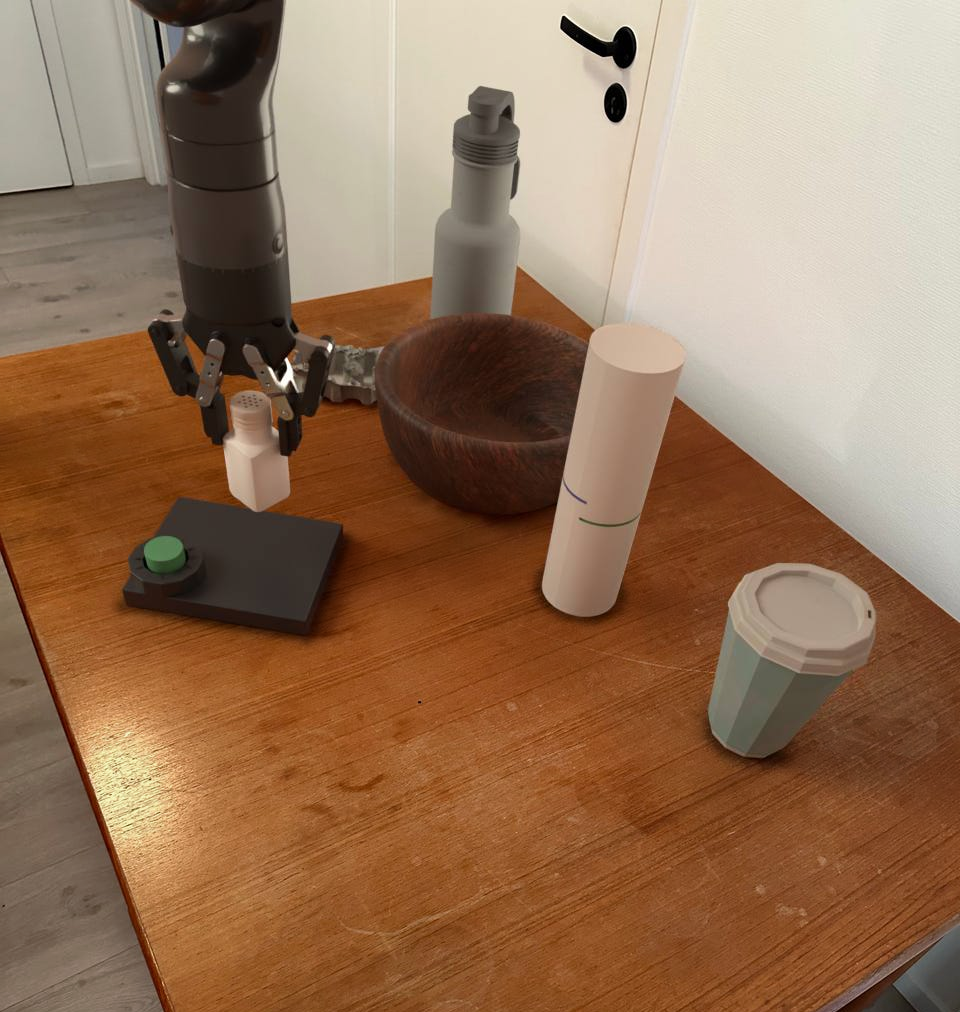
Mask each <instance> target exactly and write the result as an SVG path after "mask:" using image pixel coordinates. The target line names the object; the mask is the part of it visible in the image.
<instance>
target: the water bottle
mask: <svg viewBox="0 0 960 1012" xmlns="http://www.w3.org/2000/svg"><path fill="white" fill-rule="evenodd" d="M467 99H468V100H467V111H468V112H470V113H469V114H466V115H463V116H461V117H459V118H458V119H456V120H455V121H454V123H453V131H452V132H453V133H452V146H451V147H452V150H451V156H452V157H453V166H452V168H453V169H452V185H451V198H450V199H451V200H450V207H449V208H447V209H446V210H444V211H443V212H441V214H440V215H439V217H438V218H437V220H436V223H435V226H434V227H435V228H434V245H433V259H432V260H433V262H432V278H431V279H432V280H431V298H430V299H431V300H430V319H429V320H431V319H434V318H438V317H443V316H449V315H455V314H466V313H494V314H505V315H512V309H513V300H514V293H515V292H514V291H515V285H516V284H515V283H516V277H517V268H518V259H519V253H520V252H519V251H520V244H521V229H520V226H519V224H518V222H517V221H516V219H515V218H514V217H513V216H512V215H511V214H510V207H511V206H510V204H511V200H513V199H514V198H515V197H516V195H517V194H518V193H517V192H518V187H519V179H520V171H521V170H520V169H521V160H520V159H521V158H520V157H519V156H518V148H519V140H520V138H521V130H520V128H519V126H518V125H517V124H515V123H514V122H515V113H516V112H515V111H516V107H515V106H516V103H515V95H514V93H513V91H509V90H505V89H498V88H493V87H489V86H483V85H479V86H478V87H476V89H475V90H473V92H472V93H470V94H469V95H468V98H467Z"/></svg>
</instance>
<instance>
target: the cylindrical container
mask: <svg viewBox="0 0 960 1012" xmlns="http://www.w3.org/2000/svg"><path fill="white" fill-rule="evenodd" d="M588 343H589V346H588V351H587V357H586V362H585V367H584V372H583V377H582V382H581V387H580V392H579V397H578V402H577V407H576V413H575V418H574V423H573V428H572V433H571V438H570V443H569V448H568V453H567V458H566V463H565V468H564V474H563V478H562V484H561V489H560V494H559V499H558V502H557V505H556V510H555V515H554V520H553V524H552V530H551V534H550V539H549V544H548V550H547V555H546V560H545V565H544V571H543V576H542V581H541V589H542V593H543V595H544V597H545V599H546V600H547V602H548V603H550V604H551V605H552V606H553V607H554V608H556V609H557V610H559V611H561V612H563V613H565V614H567V615H571V616H575V617H580V618H581V617H583V618H584V617H585V618H586V617H587V618H588V617H589V618H590V617H595V616H596V617H597V616H599V615H602V614H604V613H607V612H608V611H610V610H611V608H613V606H614V605H615V604H616V601H617V598H618V594H619V592H620V588H621V585H622V581H623V578H624V574H625V570H626V567H627V563H628V560H629V558H630V557H629V556H630V553H631V550H632V546H633V543H634V540H635V536H636V533H637V529H638V526H639V522H640V519H641V516H642V511H643V508H644V504H645V502H646V497H647V495H648V491H649V488H650V483H651V480H652V477H653V473H654V470H655V467H656V463H657V459H658V455H659V454H660V453H659V452H660V448H661V445H662V442H663V440H664V435H665V431H666V427H667V425H668V421H669V417H670V414H671V410H672V407H673V404H674V399H675V396H676V393H677V390H678V386H679V383H680V379H681V375H682V371H683V368H684V365H685V361H686V358H687V352H686V348H685V346H684V345H683V344H682V342H680V340H678V339H677V338H676V337H675V336H673V335H672V334H671V333H669V332H667V331H665V330H663V329H662V328H661V329H660V328H658V327H655V326H652V325H649V324H648V325H647V324H645V323H644V324H643V323H638V322H628V321H627V322H625V321H624V322H623V321H621V322H612V323H608V324H604V325H602V326H600V327H598V328H596V329H595V330H594V331H593V332H591V335H590V337H589V341H588Z"/></svg>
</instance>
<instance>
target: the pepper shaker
mask: <svg viewBox="0 0 960 1012" xmlns="http://www.w3.org/2000/svg"><path fill="white" fill-rule="evenodd" d="M272 409H273V408H272V400H271V398H270V397H267V396H266V395H265V393H264V392H261V391H259V390H248V389H247V390H243V391H240V392H237V393H235V394H234V395H232V396H231V397H230V400H229V411H230V417H231V418H230V419H231V425H232V426H233V427H232V428H231V429H229V432H227V433H226V434H225V435H224V437H223V445H222V446H223V453H224V454H223V455H224V459H225V460H224V461H225V467H226V476H227V482H228V488H229V491H230V494H231V495H232V496H233V497H234V498H236V499H237V500H238V501H239V502H241V503H242V504H244V506H246V507H247V508H250V509H252V510H253V511H255V512H261V511H266V510H267V509H269V508H271V507H272V506H274V505H276V504H278V503H280V502H281V501H284V500H285V499H287V498H288V497H289V496H290V494H291V482H290V469H289V457H287V456H281V454H280V444H279V433H278V429H276V428H275V427H274V426H273V423H274V421H273V420H274V419H273V410H272Z"/></svg>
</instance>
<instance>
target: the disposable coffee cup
mask: <svg viewBox="0 0 960 1012" xmlns="http://www.w3.org/2000/svg"><path fill="white" fill-rule="evenodd" d="M727 606H728V607H727V608H728V613H727V618H726V623H725V627H724V631H723V637H722V640H721V641H722V642H721V647H720V652H719V657H718V660H717V665H716V671H715V675H714V680H713V685H712V688H711V689H712V690H711V694H710V698H709V704H708V709H707V715H708V721H709V724H710V730H711V735H713V736H714V737H715V739H716V740H717V741H718V742H719V743H720V744H721V745H722V746H723V748H724V749H727V750H729V751H731V752H733V753H735V754H737V755H739V756H741V757H743V758H754V759H756V758H757V759H764V758H766V757H768V756H770V755H773V754H775V753H776V752H778V751H780V750H782V749H784V748H785V747H786V746H787V745H788V744H789V743H790V742H791V741H792V739H793V738H794V737H795V736H796V735H797V734H798V733H799V731H801V730H802V728H803V727H804V726H805V725H806V724H807V723H808V721H810V719H811V718H812V717H813V716H814V715H815V714H816V712H818V711H819V709H820V708H821V707H823V706H824V704H825V703H826V702H827V701H828V699H829V698H830V697H832V695H833V694H834V693H835V692H836V691H837V689H838V688H839V687H840V686H841V685H842V684H843V683H844V681H846V679H847V678H848V677H849V676H850V675H851V674H852V673H853V672H854V671H855V669H857V668H859V667H861V666H863V665H866V663H867V661H868V658H869V656H870V653H871V651H872V648H873V645H874V642H875V639H876V633H877V631H876V624H877V612H876V609H875V607H874V605H873V602H872V599H871V598H870V595H869V593H868V592H867V591H866V590H864V589H863V588H862V587H860V586H859V585H857V584H856V583H855V582H853V581H852V580H851V579H849V578H848V577H847V576H845V575H844V574H843V573H840V572H837V571H834V570H830V569H827V568H824V567H822V566H818V565H815V564H812V563H802V562H801V563H795V562H788V563H787V562H776V563H774V564H771V565H768V566H766V567H763V568H760V569H757V570H755V571H751V572H749V573H747V574H744V576H743V577H742V579H741V581H740V582H738V584H737V586H736V587H735V590H734V591H733V593H732V595H731V597H730V598H729V600H728V602H727Z"/></svg>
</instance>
